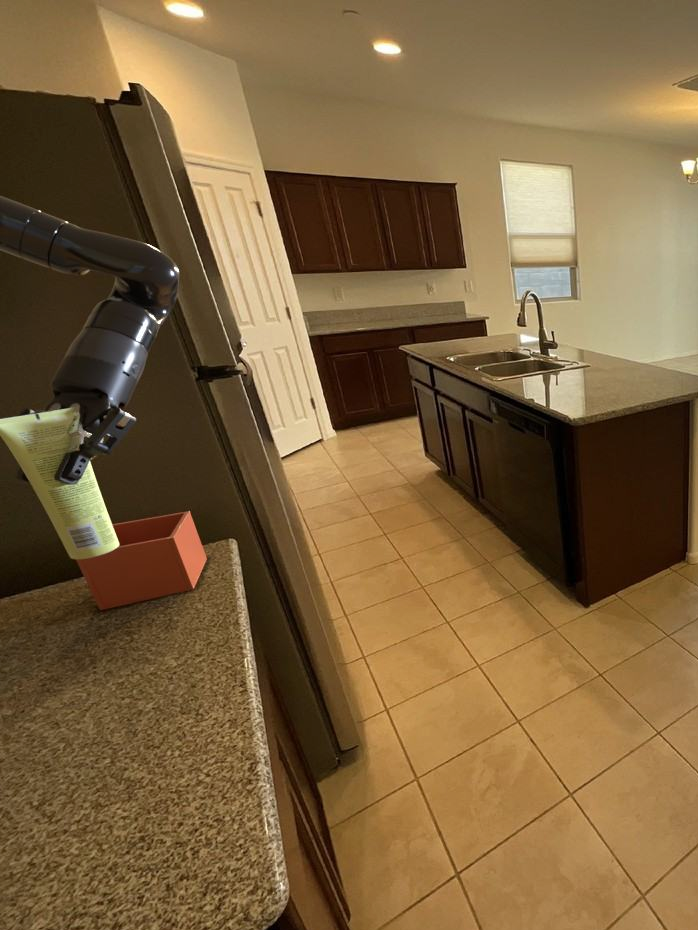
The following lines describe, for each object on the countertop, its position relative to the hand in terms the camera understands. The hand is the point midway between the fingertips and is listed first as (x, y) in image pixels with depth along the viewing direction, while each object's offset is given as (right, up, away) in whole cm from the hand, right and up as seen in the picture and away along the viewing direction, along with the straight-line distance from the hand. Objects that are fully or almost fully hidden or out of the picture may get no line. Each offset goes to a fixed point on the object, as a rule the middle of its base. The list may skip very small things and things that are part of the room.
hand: (46, 481), depth 66 cm
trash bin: (-12, -19, +29) cm, 36 cm away
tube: (0, -10, +6) cm, 11 cm away
